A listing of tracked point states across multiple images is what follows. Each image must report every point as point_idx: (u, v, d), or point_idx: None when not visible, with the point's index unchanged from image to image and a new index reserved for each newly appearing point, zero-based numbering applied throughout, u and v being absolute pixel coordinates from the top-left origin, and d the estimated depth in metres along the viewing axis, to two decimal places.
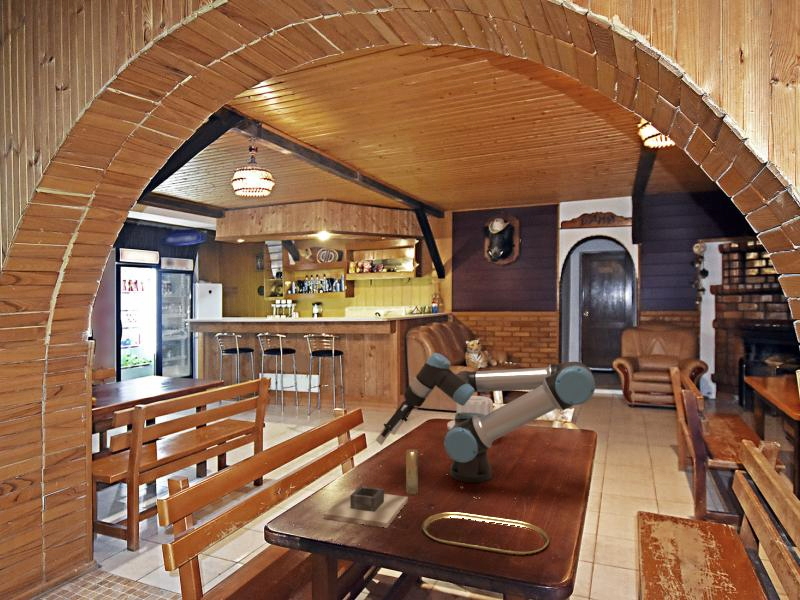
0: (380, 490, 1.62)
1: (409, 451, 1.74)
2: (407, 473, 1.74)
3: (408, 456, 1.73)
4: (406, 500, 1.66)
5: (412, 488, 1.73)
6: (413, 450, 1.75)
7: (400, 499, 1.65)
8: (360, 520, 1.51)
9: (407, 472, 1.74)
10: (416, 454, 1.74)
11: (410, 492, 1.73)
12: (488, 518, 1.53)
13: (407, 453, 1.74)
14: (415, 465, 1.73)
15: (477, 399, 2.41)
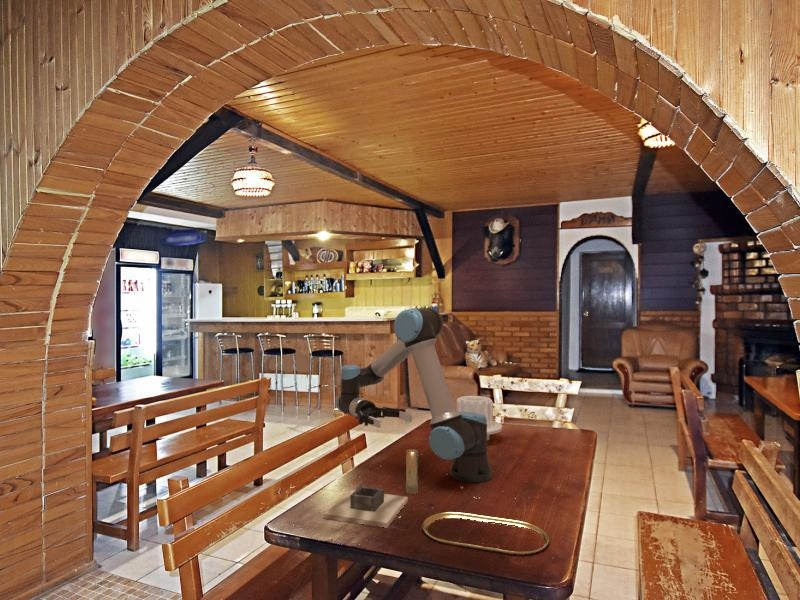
0: (380, 490, 1.62)
1: (409, 451, 1.74)
2: (407, 473, 1.74)
3: (408, 456, 1.73)
4: (406, 500, 1.66)
5: (412, 488, 1.73)
6: (413, 450, 1.75)
7: (400, 499, 1.65)
8: (360, 520, 1.51)
9: (407, 472, 1.74)
10: (416, 454, 1.74)
11: (410, 492, 1.73)
12: (488, 518, 1.53)
13: (407, 453, 1.74)
14: (415, 465, 1.73)
15: (477, 399, 2.41)
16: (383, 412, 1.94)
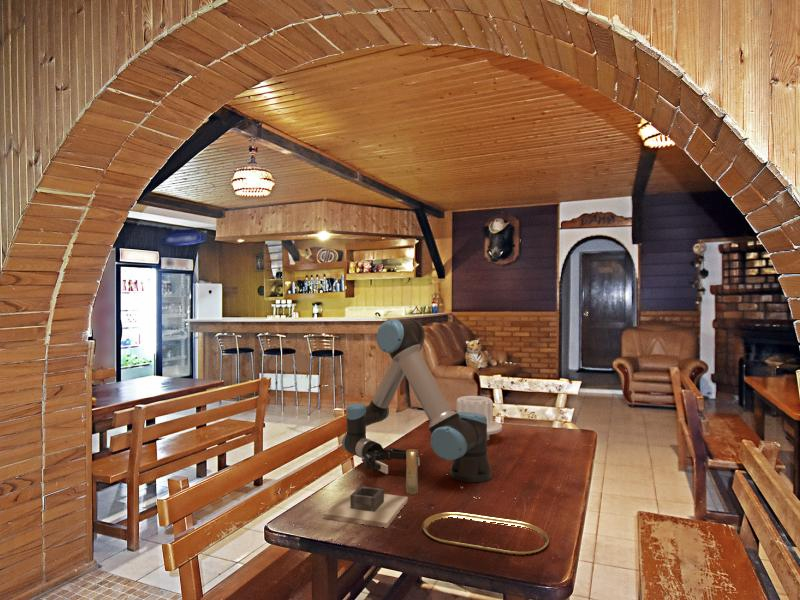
0: (380, 490, 1.62)
1: (409, 451, 1.74)
2: (407, 473, 1.74)
3: (408, 456, 1.73)
4: (406, 500, 1.66)
5: (412, 487, 1.73)
6: (413, 450, 1.75)
7: (400, 499, 1.65)
8: (360, 520, 1.51)
9: (407, 472, 1.74)
10: (416, 454, 1.74)
11: (410, 492, 1.73)
12: (488, 518, 1.53)
13: (407, 453, 1.74)
14: (415, 465, 1.73)
15: (477, 399, 2.41)
16: (390, 454, 1.90)
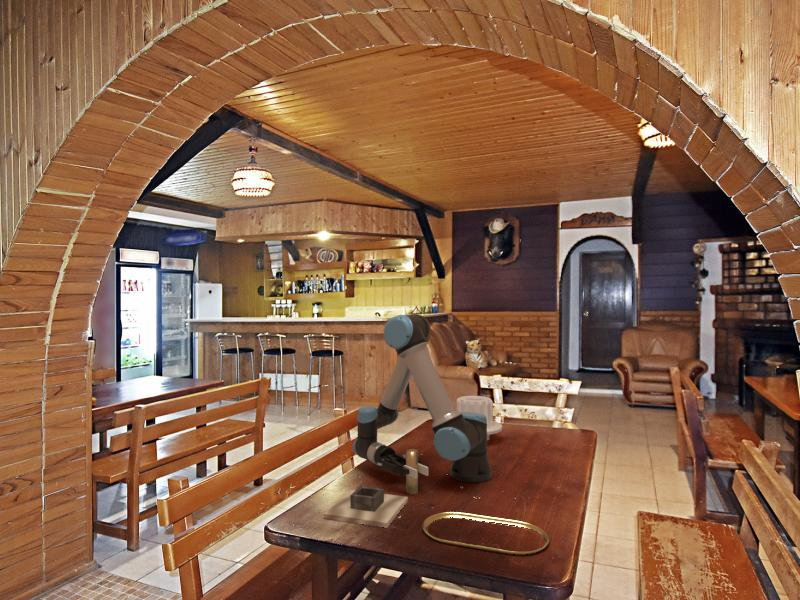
0: (380, 490, 1.62)
1: (409, 451, 1.74)
2: None
3: (408, 456, 1.73)
4: (406, 500, 1.66)
5: (412, 487, 1.73)
6: (413, 450, 1.75)
7: (400, 499, 1.65)
8: (360, 520, 1.51)
9: None
10: (416, 454, 1.74)
11: (410, 492, 1.73)
12: (488, 518, 1.53)
13: (407, 453, 1.74)
14: (415, 465, 1.73)
15: (477, 399, 2.41)
16: (400, 460, 1.82)
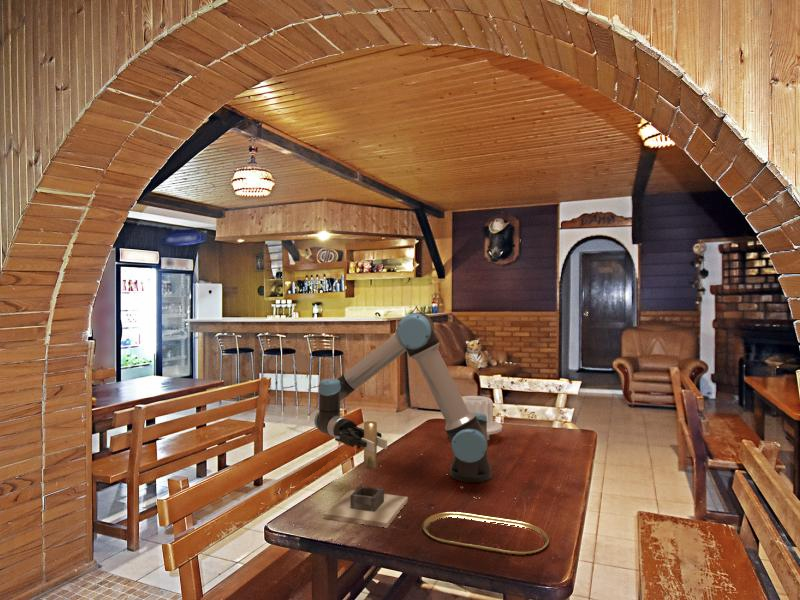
0: (380, 490, 1.62)
1: (367, 423, 1.63)
2: None
3: (366, 428, 1.62)
4: (406, 500, 1.66)
5: (370, 462, 1.61)
6: (372, 422, 1.64)
7: (400, 499, 1.65)
8: (360, 520, 1.51)
9: None
10: (374, 426, 1.62)
11: (367, 466, 1.61)
12: (489, 518, 1.53)
13: (365, 425, 1.62)
14: (374, 438, 1.62)
15: (477, 399, 2.41)
16: (360, 434, 1.71)
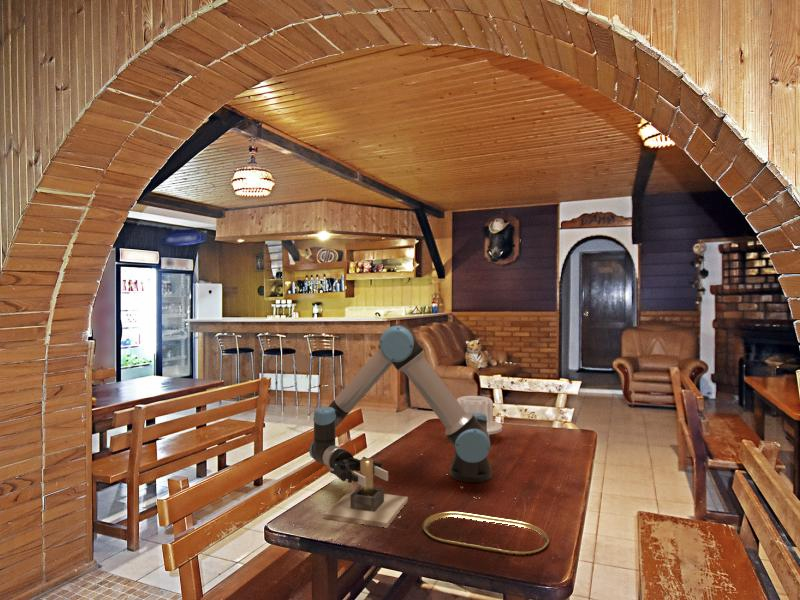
0: (380, 490, 1.62)
1: (363, 460, 1.60)
2: None
3: (362, 466, 1.59)
4: (406, 500, 1.66)
5: None
6: (368, 459, 1.61)
7: (400, 499, 1.65)
8: (360, 520, 1.51)
9: None
10: (371, 464, 1.59)
11: None
12: (489, 518, 1.53)
13: (361, 463, 1.59)
14: (370, 475, 1.59)
15: (477, 399, 2.41)
16: (358, 465, 1.68)
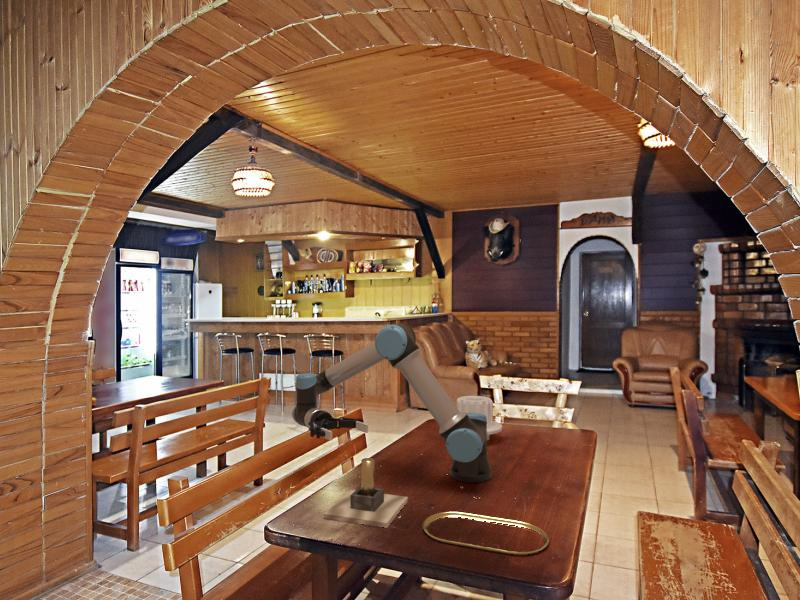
0: (380, 490, 1.62)
1: (365, 460, 1.60)
2: (362, 484, 1.60)
3: (363, 466, 1.59)
4: (406, 500, 1.66)
5: None
6: (369, 459, 1.61)
7: (400, 499, 1.65)
8: (360, 520, 1.51)
9: (362, 483, 1.60)
10: (372, 464, 1.59)
11: None
12: (489, 518, 1.53)
13: (362, 462, 1.59)
14: (371, 475, 1.59)
15: (477, 399, 2.41)
16: (339, 423, 1.80)
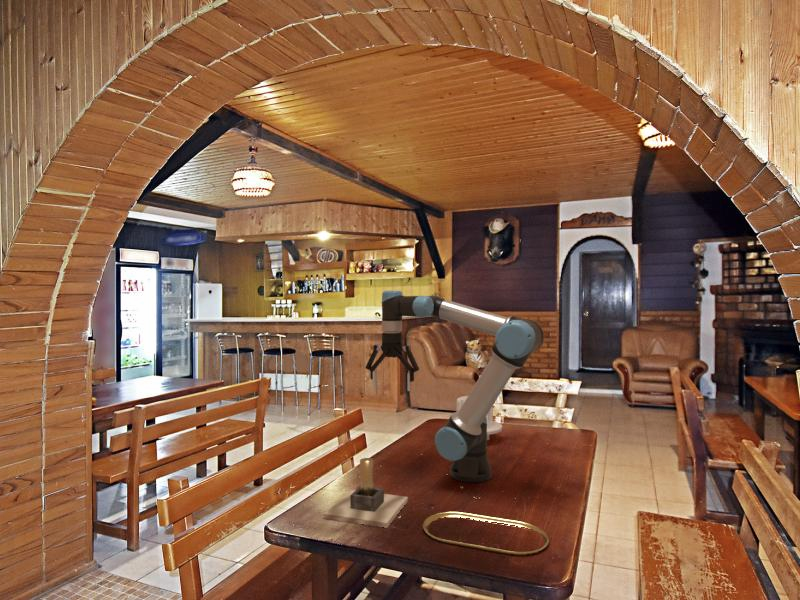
0: (380, 490, 1.62)
1: (363, 460, 1.60)
2: (361, 484, 1.60)
3: (362, 466, 1.59)
4: (406, 500, 1.66)
5: None
6: (368, 459, 1.61)
7: (400, 499, 1.65)
8: (360, 520, 1.51)
9: (361, 483, 1.60)
10: (371, 463, 1.59)
11: None
12: (489, 518, 1.53)
13: (361, 462, 1.59)
14: (370, 475, 1.59)
15: None
16: None
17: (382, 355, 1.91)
